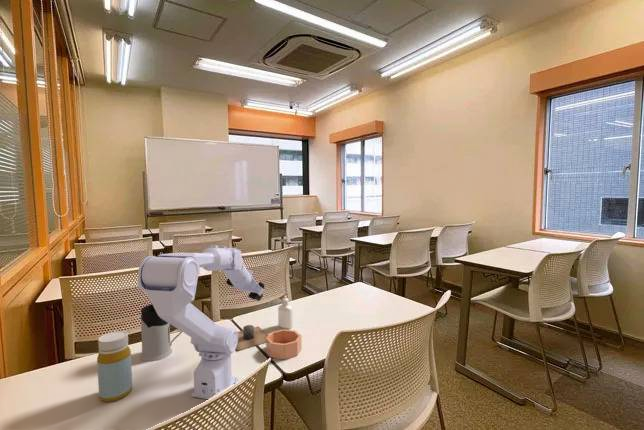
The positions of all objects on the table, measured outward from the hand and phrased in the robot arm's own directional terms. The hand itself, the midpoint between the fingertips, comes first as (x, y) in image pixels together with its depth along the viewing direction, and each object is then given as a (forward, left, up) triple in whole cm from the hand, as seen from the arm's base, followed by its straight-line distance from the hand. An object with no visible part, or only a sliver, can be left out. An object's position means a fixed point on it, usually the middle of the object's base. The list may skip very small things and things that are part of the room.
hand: (251, 292), depth 105 cm
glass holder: (-12, +24, -18) cm, 32 cm away
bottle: (-33, +21, -17) cm, 43 cm away
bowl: (-2, -12, -17) cm, 21 cm away
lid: (+3, +3, -18) cm, 18 cm away
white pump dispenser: (+15, -6, -17) cm, 24 cm away
